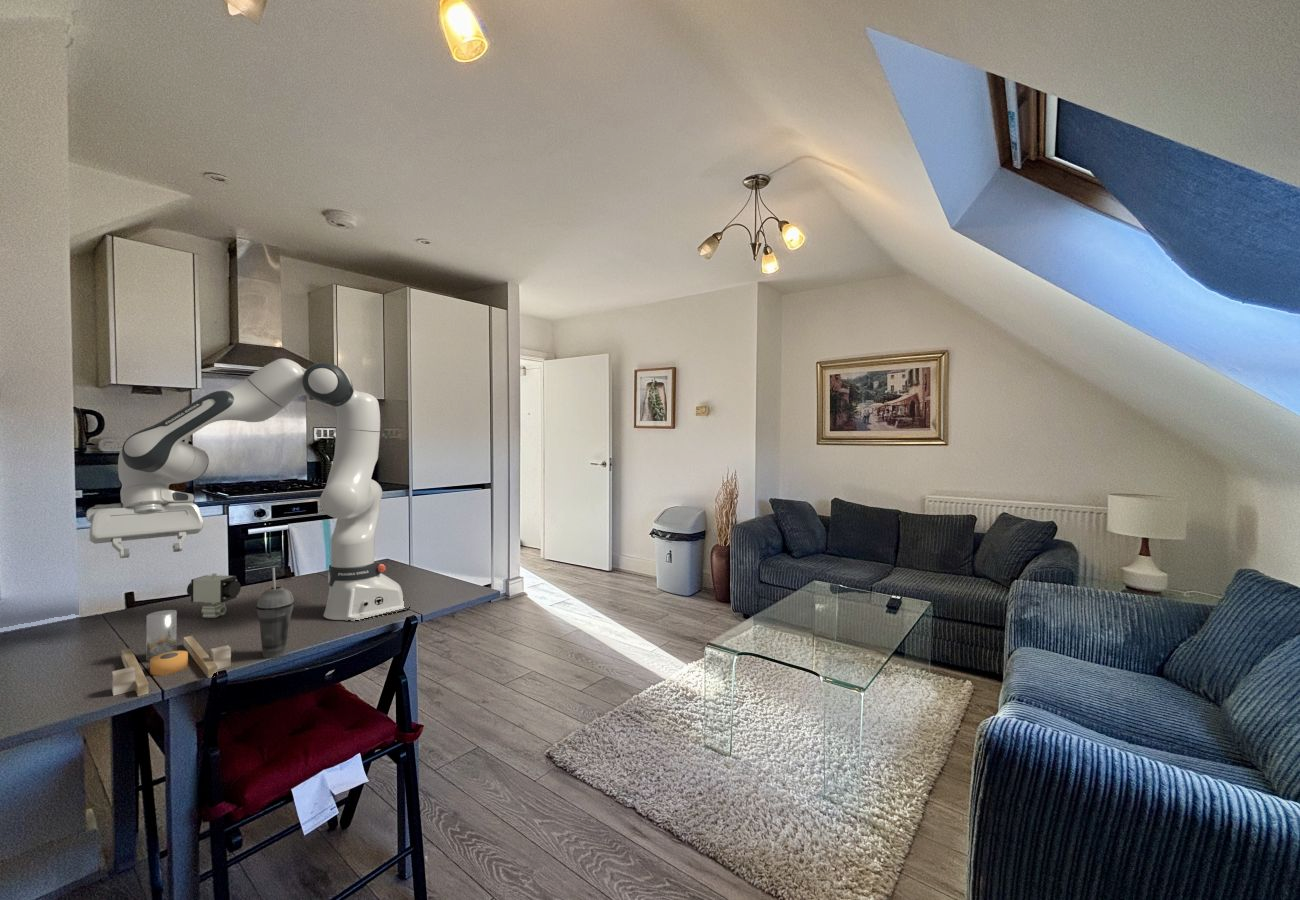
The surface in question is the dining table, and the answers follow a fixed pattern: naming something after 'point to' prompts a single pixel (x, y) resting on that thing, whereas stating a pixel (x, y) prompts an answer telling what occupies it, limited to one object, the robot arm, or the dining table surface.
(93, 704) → the dining table surface
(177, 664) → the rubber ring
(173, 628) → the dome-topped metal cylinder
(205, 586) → the pneumatic valve
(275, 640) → the beverage cup
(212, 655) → the guide track
